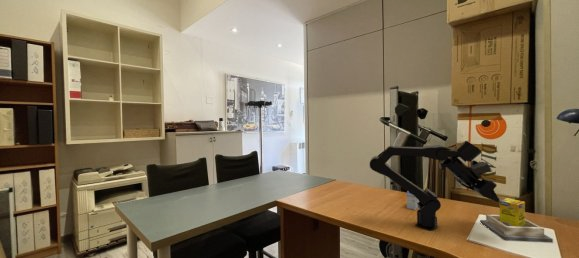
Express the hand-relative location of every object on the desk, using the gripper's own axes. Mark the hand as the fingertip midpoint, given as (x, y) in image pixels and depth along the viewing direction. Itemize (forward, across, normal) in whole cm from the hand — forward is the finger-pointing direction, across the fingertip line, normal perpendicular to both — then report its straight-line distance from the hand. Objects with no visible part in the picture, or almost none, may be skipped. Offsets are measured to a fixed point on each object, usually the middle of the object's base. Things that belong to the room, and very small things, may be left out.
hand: (490, 197), depth 95 cm
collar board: (+15, 0, +4) cm, 15 cm away
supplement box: (+14, 0, +4) cm, 14 cm away
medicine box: (-5, +25, +25) cm, 35 cm away
